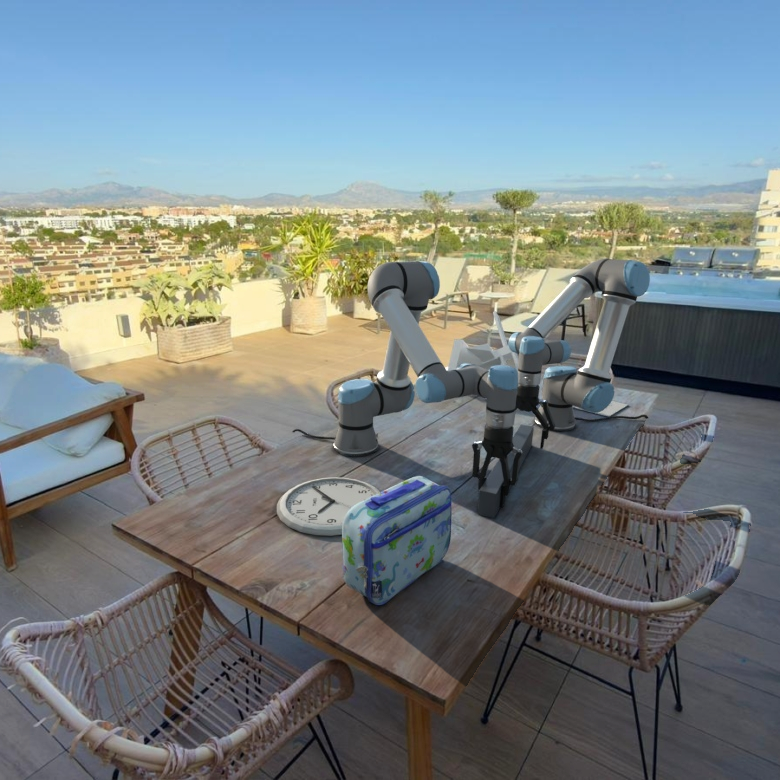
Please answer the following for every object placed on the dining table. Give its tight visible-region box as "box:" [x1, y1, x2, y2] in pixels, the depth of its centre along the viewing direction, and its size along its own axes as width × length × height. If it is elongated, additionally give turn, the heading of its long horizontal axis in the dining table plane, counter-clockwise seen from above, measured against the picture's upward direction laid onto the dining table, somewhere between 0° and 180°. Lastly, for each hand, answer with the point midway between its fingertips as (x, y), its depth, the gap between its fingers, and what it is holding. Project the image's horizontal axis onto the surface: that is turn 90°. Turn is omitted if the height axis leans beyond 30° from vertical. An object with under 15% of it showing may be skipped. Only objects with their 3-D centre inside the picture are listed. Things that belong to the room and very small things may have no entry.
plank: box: [477, 424, 535, 519], centre depth 161 cm, size 54×4×7 cm, turn 155°
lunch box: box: [341, 475, 453, 606], centre depth 111 cm, size 26×11×21 cm, turn 134°
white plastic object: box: [445, 310, 519, 371], centre depth 245 cm, size 37×45×31 cm
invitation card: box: [573, 400, 629, 417], centre depth 226 cm, size 21×1×15 cm
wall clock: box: [276, 476, 382, 537], centre depth 142 cm, size 30×2×30 cm
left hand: (492, 502), depth 145 cm, fingers closed on plank, 4 cm apart
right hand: (521, 443), depth 178 cm, fingers open, 13 cm apart
